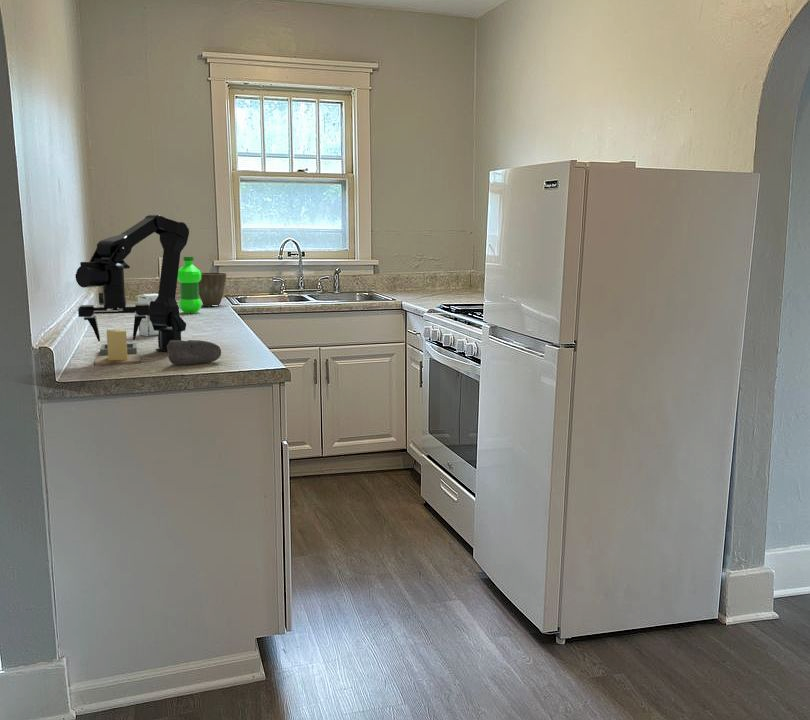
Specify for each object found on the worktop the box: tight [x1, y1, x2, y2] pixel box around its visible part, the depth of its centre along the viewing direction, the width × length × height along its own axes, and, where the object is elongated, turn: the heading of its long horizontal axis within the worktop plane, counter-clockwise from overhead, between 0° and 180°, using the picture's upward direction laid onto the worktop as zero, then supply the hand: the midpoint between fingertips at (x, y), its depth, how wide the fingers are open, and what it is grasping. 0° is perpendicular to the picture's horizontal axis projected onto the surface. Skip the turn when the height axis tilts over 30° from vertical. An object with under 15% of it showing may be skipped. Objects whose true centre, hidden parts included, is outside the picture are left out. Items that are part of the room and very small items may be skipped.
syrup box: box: [137, 293, 159, 337], centre depth 259 cm, size 6×6×14 cm
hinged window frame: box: [99, 342, 138, 356], centre depth 227 cm, size 10×20×2 cm, turn 20°
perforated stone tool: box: [166, 339, 222, 365], centre depth 206 cm, size 15×5×7 cm, turn 114°
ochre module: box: [106, 328, 128, 360], centre depth 209 cm, size 5×5×8 cm
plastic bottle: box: [177, 256, 203, 314], centre depth 328 cm, size 10×10×25 cm
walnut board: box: [93, 353, 142, 366], centre depth 210 cm, size 12×12×1 cm
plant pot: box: [199, 272, 227, 307], centre depth 359 cm, size 15×15×16 cm
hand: (116, 340), depth 209 cm, fingers open, 9 cm apart
